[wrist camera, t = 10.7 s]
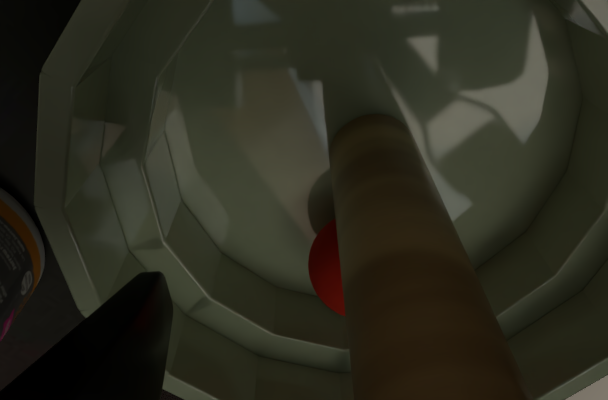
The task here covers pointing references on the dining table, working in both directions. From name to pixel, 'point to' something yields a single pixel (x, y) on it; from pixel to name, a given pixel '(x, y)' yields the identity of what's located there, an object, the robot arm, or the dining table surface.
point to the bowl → (325, 171)
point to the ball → (327, 268)
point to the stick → (410, 278)
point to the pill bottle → (17, 259)
